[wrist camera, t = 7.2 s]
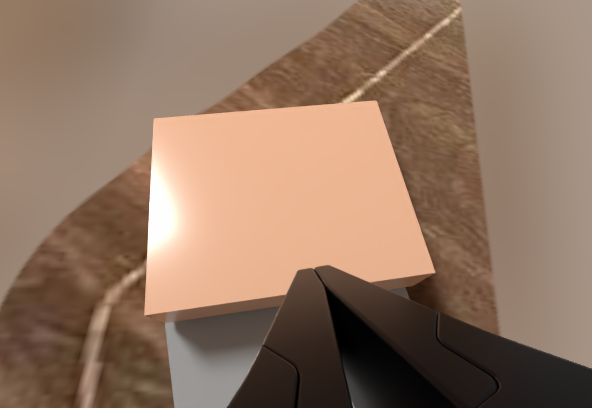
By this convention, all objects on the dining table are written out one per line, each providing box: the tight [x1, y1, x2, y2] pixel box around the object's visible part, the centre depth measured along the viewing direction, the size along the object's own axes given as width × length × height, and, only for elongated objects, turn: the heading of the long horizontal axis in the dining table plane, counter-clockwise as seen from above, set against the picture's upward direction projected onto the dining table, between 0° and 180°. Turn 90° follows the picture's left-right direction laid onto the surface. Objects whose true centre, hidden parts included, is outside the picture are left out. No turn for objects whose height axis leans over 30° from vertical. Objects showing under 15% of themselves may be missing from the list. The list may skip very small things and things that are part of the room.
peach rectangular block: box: [145, 101, 435, 323], centre depth 15 cm, size 2×11×9 cm
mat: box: [165, 287, 410, 408], centre depth 15 cm, size 9×11×1 cm
